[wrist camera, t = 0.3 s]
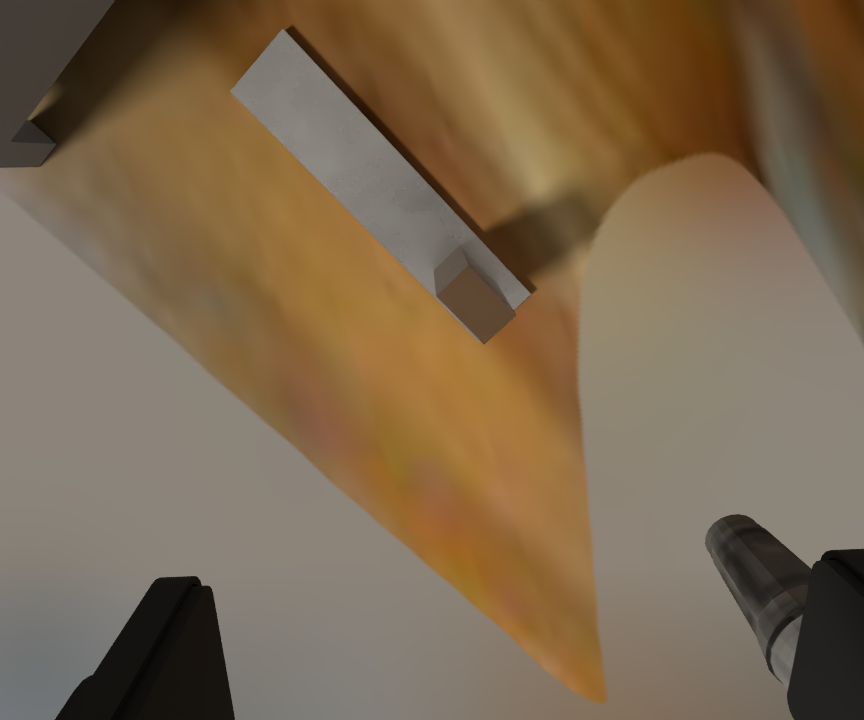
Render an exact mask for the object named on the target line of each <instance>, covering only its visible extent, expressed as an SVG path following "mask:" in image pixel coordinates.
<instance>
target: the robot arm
mask: <svg viewBox="0 0 864 720" xmlns="http://www.w3.org/2000/svg"><path fill="white" fill-rule="evenodd" d="M787 700H788V705H789V709H790V712H791V714H792V717H793V718H794V720H864V549H849V550H830V551H827V552H825V553H824V554H823V555H822V557H821V560H820V561H816V563H815V564H813V567H812V571H811V576H810V581H809V586H808V591H807V596H806V601H805V606H804V611H803V616H802V621H801V626H800V631H799V636H798V641H797V647H796V652H795V657H794V662H793V667H792V672H791V677H790V682H789V687H788V692H787ZM55 720H235V717H234V711H233V705H232V699H231V694H230V688H229V682H228V677H227V671H226V665H225V659H224V654H223V648H222V642H221V636H220V631H219V625H218V619H217V613H216V608H215V602H214V597H213V592H212V589H211V587H210V586H202V585H201V581H200V580H199V578H198V577H196V576H190V577H189V576H187V577H165V578H158V579H156V580H155V581H154V582H153V584H152V585H151V587H150V588H149V590H148V591H147V593H146V594H145V596H144V597H143V599H142V600H141V602H140V604H139V605H138V606H137V608H136V610H135V611H134V613H133V614H132V616H131V617H130V619H129V621H128V622H127V623H126V625H125V627H124V628H123V630H122V631H121V633H120V634H119V636H118V637H117V639H116V640H115V642H114V643H113V645H112V646H111V648H110V650H109V651H108V653H107V654H106V656H105V657H104V659H103V660H102V662H101V663H100V665H99V667H98V668H97V670H96V671H95V673H94V674H93V675H91V676H89V677H87V678H86V679H84V680H83V681H82V682H81V683H80V684H79V686H78V687H77V688H76V689H75V690H74V692H73V693H72V695H71V696H70V698H69V699H68V701H67V702H66V704H65V705H64V707H63V708H62V710H61V711H60V713H59V714H58V716H57V717H56V719H55Z"/></svg>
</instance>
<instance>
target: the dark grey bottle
mask: <svg viewBox="0 0 864 720" xmlns="http://www.w3.org/2000/svg"><path fill="white" fill-rule="evenodd" d="M705 544H706V547H707V550H708V552H709V553H710V555H711V557H712V559H713V561H714V564H715V566H716V568H717V569H718V571H719V573H720V574H721V576H722V578H723V580H724V581H725V583H726V585H727V587H728V588H729V590H730V592H731V593H732V595H733V597H734V599H735V600H736V602H737V604H738V605H739V607H740V609H741V611H742V612H743V614H744V616H745V618H746V619H747V621H748V623H749V624H750V626H751V628H752V630H753V631H754V633H755V635H756V637H757V640H758V643H759V645H760V647H761V650H762V652H763V655H764V657H765V659H766V662H767V665H768V668H769V670H770V671H771V673H772V674H773V675H774V676H775V677H776V678H777V679H778V680H779V681H780V682H781V683H782V684H784V685H785V687H786V688H787V689H788V687H789V682H790V677H791V672H792V667H793V662H794V657H795V652H796V647H797V641H798V636H799V631H800V626H801V621H802V616H803V611H804V606H805V601H806V596H807V591H808V586H809V581H810V576H811V571H812V569H811V568H809V566H807V565H806V564H805V563H804V562H803V561H801V560H800V559H799V558H798V557H797V556H796V555H795V554H794V553H792V552H791V551H790V550H789V549H788V548H786V546H784V545H783V544H782V543H781V542H780V541H779V540H777V539H776V538H775V537H774V536H773V535H771V533H769V532H768V531H767V530H766V529H764V528H762V527H761V526H760V525H759V524H757V523H756V522H755V521H754V520H753V519H751V518H749V517H747V516H744V515H739V514H737V515H729V516H726V517H723V518H721V519H720V520H718V521H717V522H715V523H714V524H713V525H712V526H711V528H710V529H709V530H708V533H707V535H706V542H705Z"/></svg>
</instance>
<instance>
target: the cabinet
mask: <svg viewBox="0 0 864 720" xmlns="http://www.w3.org/2000/svg"><path fill="white" fill-rule="evenodd" d="M114 1H115V0H0V168H5V167H39V166H40V165H41V164H42V163H43V161H44V160H45V159H46V157H47V156H48V155H49V153H50V152H51V151H52V149H53V148H54V147H55V146H56V143H55V142H53V141H52V140H51V139H50V138H49V137H48V136H47V135H46V134H44V133H43V132H42V131H41V130H40V129H39V128H38V127H36V126H35V125H34V124H33V123H32V122H31V121H30V120H27V118H28V117H29V116H30V114H31V113H32V112H33V110H34V109H35V108H36V106H37V105H38V104H39V102H40V101H41V100H42V98H43V97H44V96H45V94H46V93H47V91H48V90H49V89H50V87H51V86H52V85H53V83H54V82H55V81H56V79H57V78H58V77H59V75H60V74H61V73H62V71H63V70H64V69H65V67H66V66H67V64H68V63H69V62H70V60H71V59H72V58H73V56H74V55H75V54H76V52H77V51H78V50H79V48H80V47H81V46H82V44H83V43H84V42H85V40H86V39H87V37H88V36H89V35H90V33H91V32H92V31H93V29H94V28H95V27H96V25H97V24H98V23H99V21H100V20H101V19H102V17H103V16H104V15H105V13H106V12H107V11H108V9H109V8H110V6H111V5H112V4H113V2H114Z"/></svg>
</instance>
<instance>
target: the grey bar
mask: <svg viewBox="0 0 864 720" xmlns="http://www.w3.org/2000/svg"><path fill="white" fill-rule="evenodd" d="M230 92H231V93H232V94H233V95H234V96H235V97H236V98H237V99H238V100H239V101H240V102H241V103H242V104H243V105H244V106H245V107H246V108H247V109H248V110H249V111H250V112H251V113H252V114H253V115H254V116H255V117H256V118H257V119H258V120H259V121H260V122H261V123H262V124H263V125H264V126H265V127H266V128H267V129H268V130H269V131H270V132H271V133H272V134H273V135H274V136H275V137H276V138H277V139H278V140H279V141H280V142H281V143H282V144H283V145H284V146H285V147H286V148H287V149H288V150H289V151H290V152H291V153H292V154H293V155H294V156H295V157H296V158H297V159H298V160H299V161H300V162H301V163H302V164H303V165H304V166H305V167H306V168H307V169H308V170H309V171H310V172H311V173H312V174H313V175H314V176H315V177H316V178H317V179H318V180H319V181H320V182H321V183H322V184H323V185H324V186H325V187H326V188H327V189H328V190H329V191H330V192H331V193H332V194H333V195H334V196H335V197H336V199H337V200H338V201H339V202H340V203H341V204H342V205H343V206H344V207H345V208H346V209H347V210H348V211H349V212H350V213H351V214H352V215H353V216H354V217H355V218H356V219H357V220H358V221H359V222H360V223H361V224H362V225H363V226H364V227H365V228H366V229H367V230H368V231H369V232H370V233H371V234H372V235H373V236H374V237H375V238H376V239H377V240H378V241H379V242H380V243H381V244H382V245H383V246H384V247H385V248H386V249H387V250H388V251H389V252H390V253H391V254H392V255H393V256H394V257H395V258H396V259H397V260H398V261H399V262H400V263H401V264H402V265H403V266H404V267H405V268H406V269H407V270H408V271H409V272H410V273H411V274H412V275H413V276H414V277H415V278H416V279H417V280H418V281H419V282H420V283H421V284H422V285H423V286H424V287H425V288H426V289H427V290H428V291H429V292H430V293H431V294H432V295H433V296H434V297H435V298H436V299H437V300H438V301H439V302H440V303H441V304H442V305H443V306H444V307H445V308H446V309H447V310H448V311H449V312H450V313H451V314H452V315H453V316H454V317H455V318H456V319H457V320H458V321H459V322H460V323H461V324H462V325H463V326H464V327H465V328H466V329H467V330H468V331H469V332H470V333H471V334H472V335H473V336H474V337H475V338H476V339H477V340H478V341H481V342H482V343H483V344H485V343H486V342H488V341H489V340H490V339H491V338H492V337H493V336H494V335H495V334H496V333H497V332H499V331H500V330H501V329H502V328H503V327H504V326H505V325H506V324H507V323H508V322H510V321H511V320H512V319H513V318H514V317H515V316H516V314H515V312H514V309H516V308H517V307H518V306H519V305H520V304H521V303H522V302H523V301H524V300H525V299H527V298H528V297H529V296H530V295H531V293H530V292H529V291H528V290H527V289H526V288H525V287H524V286H523V285H522V284H521V283H520V282H519V280H518V279H517V278H516V277H515V276H514V275H513V274H512V273H511V272H510V271H509V270H508V269H507V268H506V267H505V266H504V264H503V263H502V262H501V261H500V260H499V259H498V258H497V257H496V256H495V255H494V254H493V253H492V252H491V251H490V249H489V248H488V247H487V246H486V245H485V244H484V243H483V242H482V241H481V240H480V239H479V238H478V237H477V236H476V234H475V233H474V232H473V231H472V230H471V229H470V228H469V227H468V226H467V225H466V224H465V223H464V222H463V221H462V220H461V218H460V217H459V216H458V215H457V214H456V213H455V212H454V211H453V210H452V209H451V208H450V207H449V206H448V205H447V203H446V202H445V201H444V200H443V199H442V198H441V197H440V196H439V195H438V194H437V193H436V192H435V191H434V190H433V188H432V187H431V186H430V185H429V184H428V183H427V182H426V181H425V180H424V179H423V178H422V177H421V176H420V175H419V173H418V172H417V171H416V170H415V169H414V168H413V167H412V166H411V165H410V164H409V163H408V162H407V161H406V160H405V159H404V157H403V156H402V155H401V154H400V153H399V152H398V151H397V150H396V149H395V148H394V147H393V146H392V145H391V144H390V142H389V141H388V140H387V139H386V138H385V137H384V136H383V135H382V134H381V133H380V132H379V131H378V130H377V129H376V127H375V126H374V125H373V124H372V123H371V122H370V121H369V120H368V119H367V118H366V117H365V116H364V115H363V114H362V113H361V111H360V110H359V109H358V108H357V107H356V106H355V105H354V104H353V103H352V102H351V101H350V100H349V99H348V98H347V96H346V95H345V94H344V93H343V92H342V91H341V90H340V89H339V88H338V87H337V86H336V85H335V84H334V83H333V81H332V80H331V79H330V78H329V77H328V76H327V75H326V74H325V73H324V72H323V71H322V70H321V69H320V68H319V67H318V65H317V64H316V63H315V62H314V61H313V60H312V59H311V58H310V57H309V56H308V55H307V54H306V53H305V52H304V50H303V49H302V48H301V47H300V46H299V45H298V44H297V43H296V42H295V41H294V40H293V39H292V38H291V37H290V35H289V34H288V33H287V32H286V31H285V30H284V29H282V30H281V31H280V33H279V34H278V35H277V36H276V37H275V39H274V40H273V41H272V42H271V43H270V45H269V46H268V47H267V48H266V49H265V50H264V52H263V53H262V54H261V55H260V56H259V58H258V59H257V60H256V61H255V62H254V64H253V65H252V66H251V67H250V68H249V69H248V71H247V72H246V73H245V74H244V75H243V77H242V78H241V79H240V80H239V81H238V83H237V84H236V85H235V86H234V87H233V88H232V90H231V91H230Z"/></svg>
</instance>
